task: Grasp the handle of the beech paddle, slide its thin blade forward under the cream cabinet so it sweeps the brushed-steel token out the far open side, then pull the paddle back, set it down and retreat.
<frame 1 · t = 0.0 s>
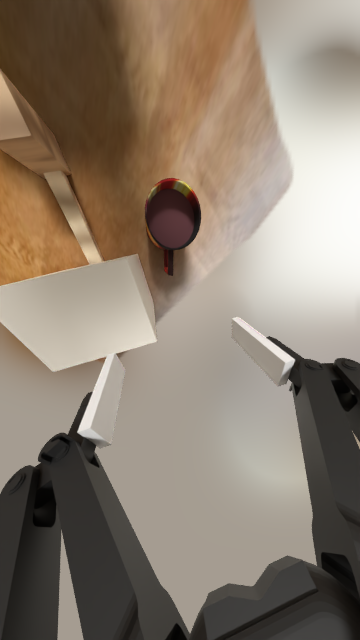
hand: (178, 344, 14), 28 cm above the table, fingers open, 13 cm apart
cabinet: (114, 288, 36), on the table
mug: (169, 237, 34), on the table
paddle: (48, 157, 24), on the table
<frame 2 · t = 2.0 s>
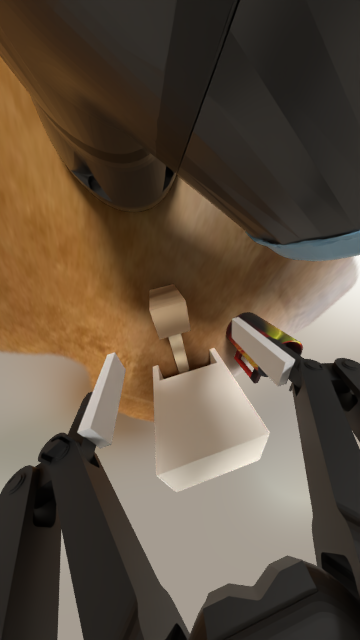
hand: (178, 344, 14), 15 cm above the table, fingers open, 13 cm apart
cabinet: (188, 372, 40), on the table
mug: (242, 333, 37), on the table
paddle: (164, 298, 27), on the table
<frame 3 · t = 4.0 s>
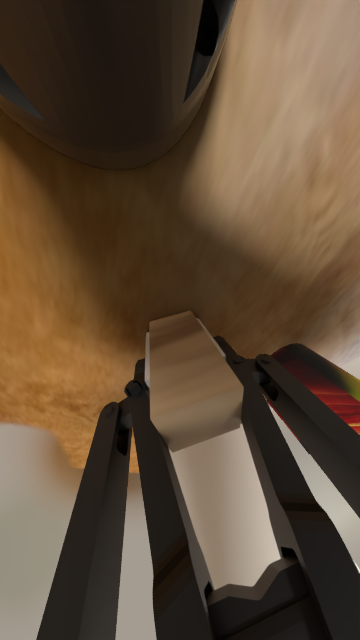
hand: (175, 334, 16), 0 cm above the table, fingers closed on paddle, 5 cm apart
cabinet: (202, 420, 29), on the table
mug: (281, 368, 26), on the table
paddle: (174, 332, 16), on the table, touching gripper
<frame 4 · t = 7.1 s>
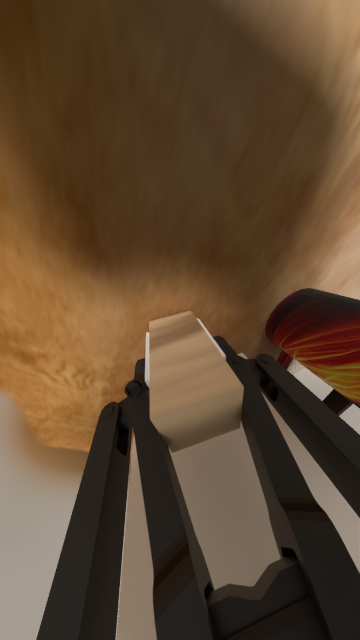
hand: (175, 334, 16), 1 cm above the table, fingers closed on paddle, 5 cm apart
cabinet: (197, 392, 25), on the table
mug: (291, 327, 22), on the table
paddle: (174, 332, 16), point 1 cm above the table, touching gripper, token
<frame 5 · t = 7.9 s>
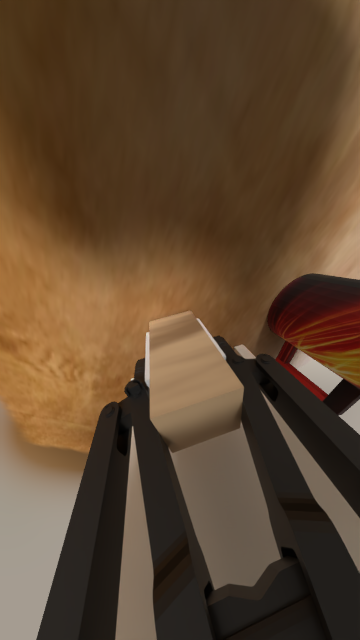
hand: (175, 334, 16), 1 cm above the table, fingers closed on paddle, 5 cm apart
cabinet: (195, 387, 23), on the table
mug: (294, 317, 21), on the table
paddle: (174, 332, 16), on the table, touching gripper
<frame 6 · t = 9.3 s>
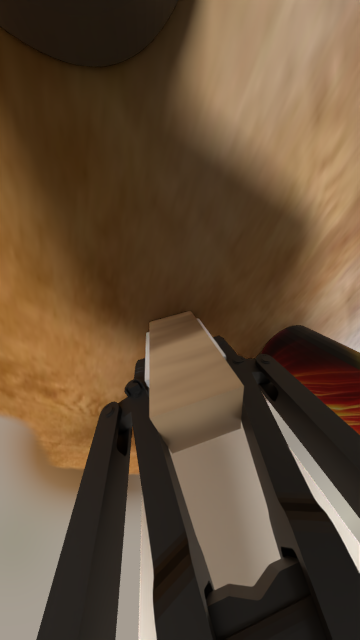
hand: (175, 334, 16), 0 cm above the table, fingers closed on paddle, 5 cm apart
cabinet: (198, 413, 27), on the table
mug: (283, 355, 24), on the table
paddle: (174, 333, 16), on the table, touching gripper
when the fingers open (0 cm above the table, at t = 10.0 s): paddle stays where it is, on the table.
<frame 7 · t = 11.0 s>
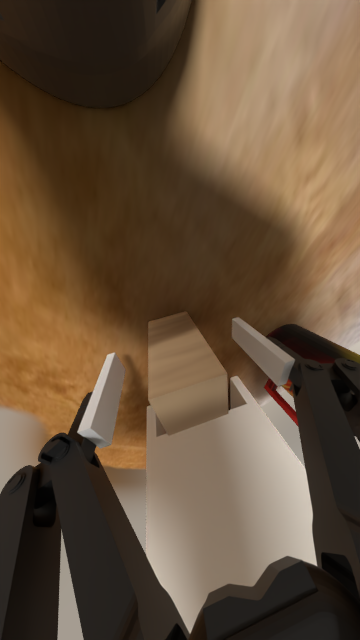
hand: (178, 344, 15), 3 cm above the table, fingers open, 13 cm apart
cabinet: (198, 409, 28), on the table
mug: (278, 353, 26), on the table
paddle: (171, 332, 18), on the table
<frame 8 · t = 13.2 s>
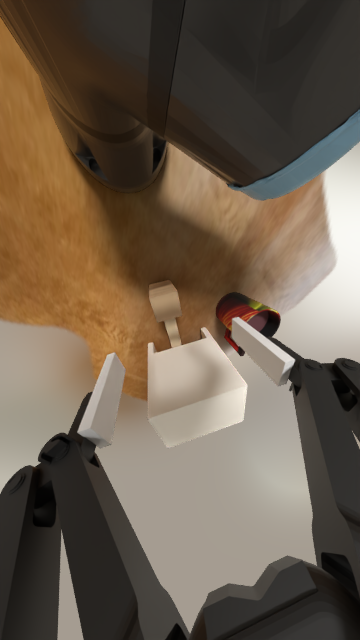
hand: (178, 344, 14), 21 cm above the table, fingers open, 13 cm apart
cabinet: (181, 351, 43), on the table
mug: (231, 313, 40), on the table
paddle: (161, 292, 32), on the table
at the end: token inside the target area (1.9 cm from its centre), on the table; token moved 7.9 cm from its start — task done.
